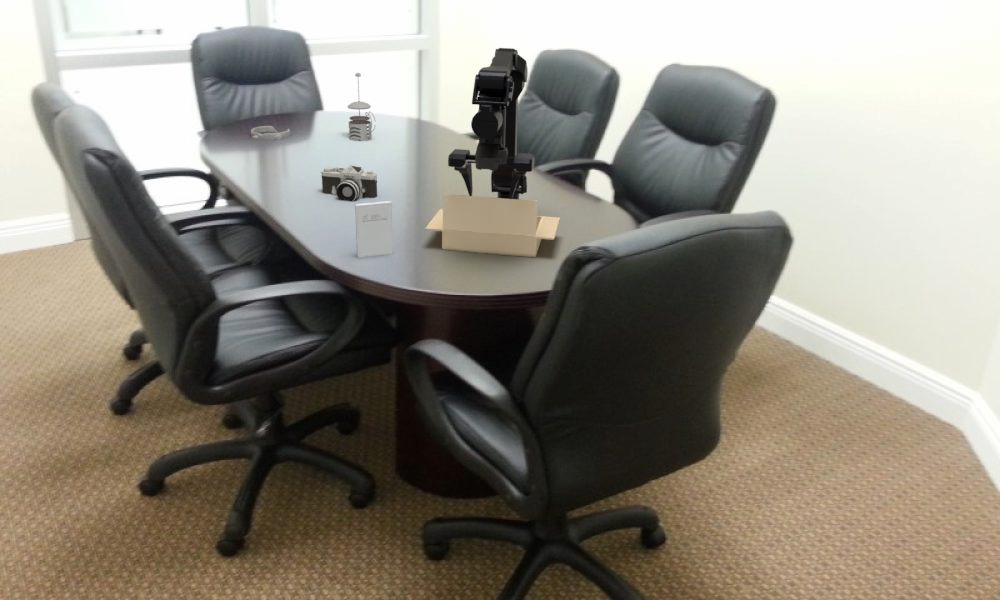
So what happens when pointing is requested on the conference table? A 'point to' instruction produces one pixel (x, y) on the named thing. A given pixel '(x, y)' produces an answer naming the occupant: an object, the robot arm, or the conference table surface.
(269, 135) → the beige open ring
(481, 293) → the conference table surface
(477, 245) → the carton
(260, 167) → the conference table surface
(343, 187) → the camera
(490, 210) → the kraft flap
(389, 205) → the hard drive
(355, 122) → the french press
